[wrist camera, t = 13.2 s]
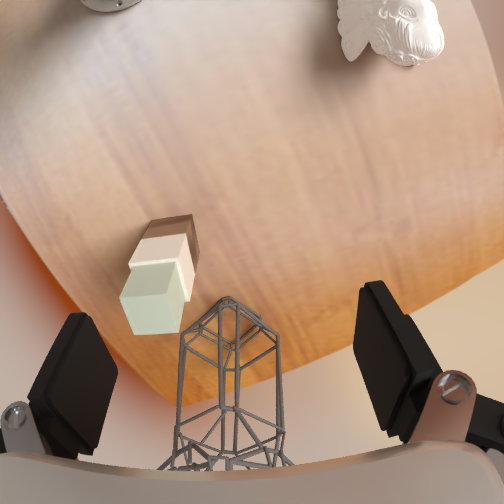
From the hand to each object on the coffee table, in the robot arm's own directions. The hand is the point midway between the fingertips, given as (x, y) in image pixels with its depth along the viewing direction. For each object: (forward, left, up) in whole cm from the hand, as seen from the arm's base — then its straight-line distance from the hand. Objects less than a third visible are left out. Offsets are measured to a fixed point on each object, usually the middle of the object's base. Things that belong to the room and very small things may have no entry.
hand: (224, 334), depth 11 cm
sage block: (+12, -10, -22) cm, 27 cm away
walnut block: (+12, -10, -34) cm, 38 cm away
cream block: (+12, -10, -28) cm, 32 cm away
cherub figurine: (-20, +22, -35) cm, 46 cm away
